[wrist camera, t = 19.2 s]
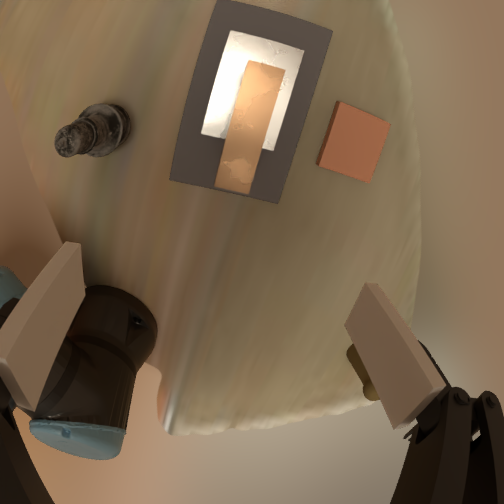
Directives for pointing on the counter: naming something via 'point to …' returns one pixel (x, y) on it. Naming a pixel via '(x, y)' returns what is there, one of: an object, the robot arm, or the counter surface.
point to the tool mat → (190, 138)
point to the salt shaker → (94, 132)
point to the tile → (353, 142)
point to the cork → (362, 374)
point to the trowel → (249, 104)
